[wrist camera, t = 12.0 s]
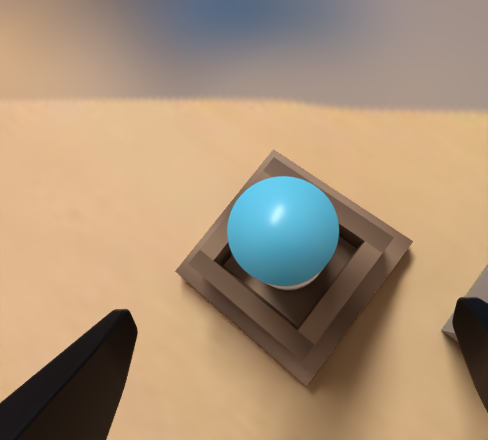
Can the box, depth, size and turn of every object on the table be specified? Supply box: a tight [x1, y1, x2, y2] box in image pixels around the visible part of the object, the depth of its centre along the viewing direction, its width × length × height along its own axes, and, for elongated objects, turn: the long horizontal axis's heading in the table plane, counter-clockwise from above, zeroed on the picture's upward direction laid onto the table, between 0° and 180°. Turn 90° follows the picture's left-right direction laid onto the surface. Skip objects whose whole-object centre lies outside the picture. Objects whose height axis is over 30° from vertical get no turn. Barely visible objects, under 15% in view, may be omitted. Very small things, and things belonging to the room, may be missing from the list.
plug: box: [227, 176, 339, 291], centre depth 16 cm, size 4×4×8 cm
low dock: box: [175, 149, 413, 387], centre depth 19 cm, size 10×10×4 cm
